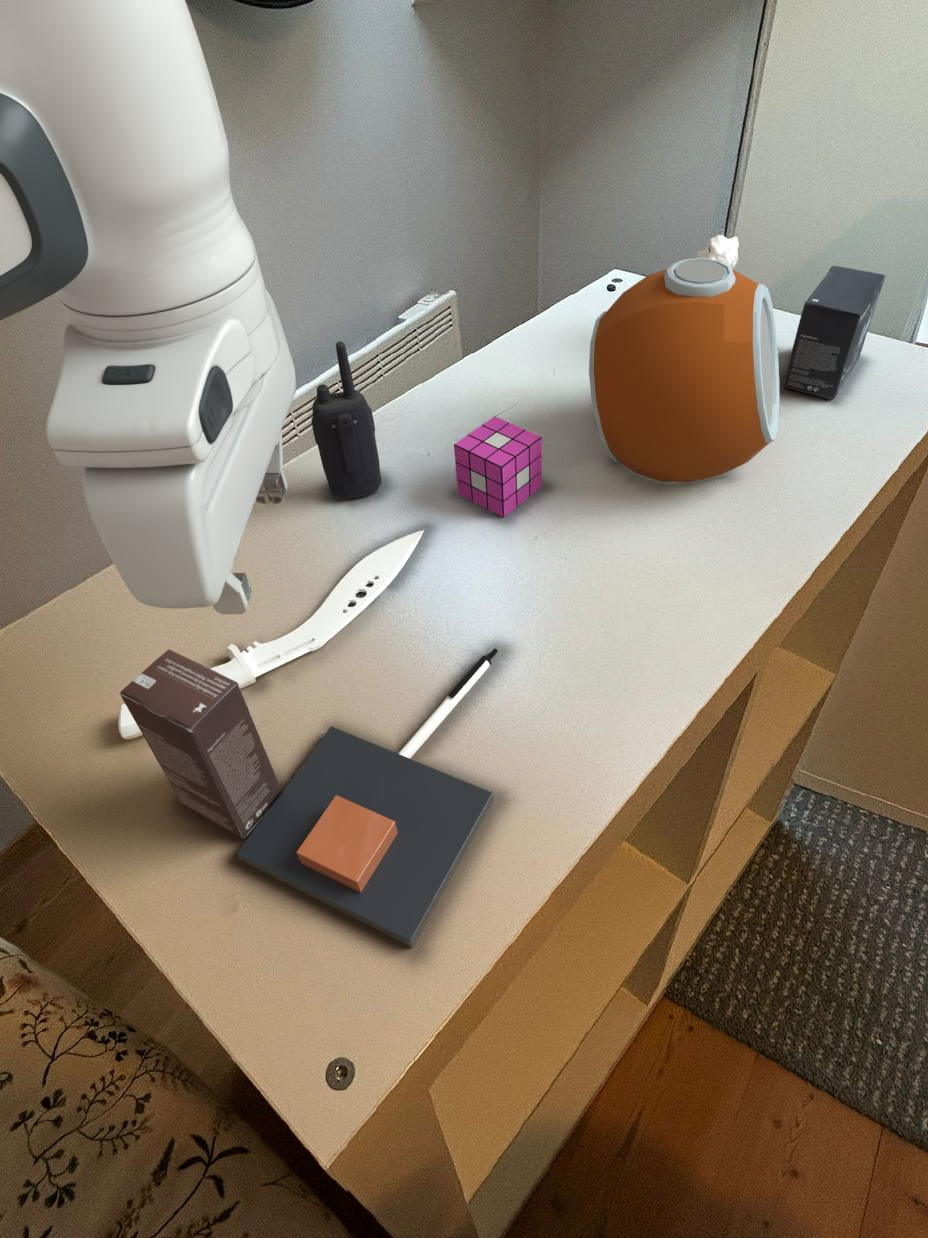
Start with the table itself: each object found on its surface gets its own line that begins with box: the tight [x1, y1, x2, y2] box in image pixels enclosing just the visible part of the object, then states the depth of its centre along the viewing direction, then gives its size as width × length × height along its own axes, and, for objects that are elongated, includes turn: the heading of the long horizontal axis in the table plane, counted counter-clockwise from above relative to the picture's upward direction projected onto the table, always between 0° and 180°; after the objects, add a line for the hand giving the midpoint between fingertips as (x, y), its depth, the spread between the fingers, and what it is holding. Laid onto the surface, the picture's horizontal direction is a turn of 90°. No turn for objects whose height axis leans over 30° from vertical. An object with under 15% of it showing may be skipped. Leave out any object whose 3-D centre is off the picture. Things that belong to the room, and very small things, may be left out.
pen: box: [397, 648, 499, 759], centre depth 59 cm, size 1×19×1 cm, turn 144°
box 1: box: [119, 649, 283, 840], centre depth 52 cm, size 6×4×12 cm
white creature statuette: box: [696, 234, 740, 270], centre depth 89 cm, size 10×9×12 cm
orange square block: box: [296, 795, 398, 893], centre depth 52 cm, size 4×4×2 cm
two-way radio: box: [311, 340, 382, 500], centre depth 73 cm, size 6×4×15 cm
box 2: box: [782, 265, 886, 400], centre depth 84 cm, size 9×6×10 cm, turn 147°
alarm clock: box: [588, 257, 780, 485], centre depth 74 cm, size 19×18×17 cm
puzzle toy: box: [453, 415, 543, 518], centre depth 76 cm, size 6×6×6 cm
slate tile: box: [236, 725, 494, 949], centre depth 54 cm, size 13×11×1 cm
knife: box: [117, 529, 425, 740], centre depth 67 cm, size 30×2×8 cm
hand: (255, 547), depth 49 cm, fingers open, 8 cm apart
